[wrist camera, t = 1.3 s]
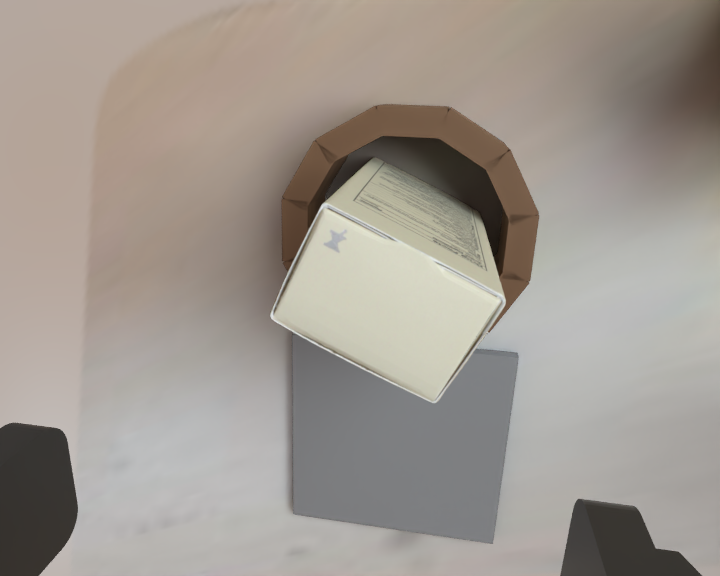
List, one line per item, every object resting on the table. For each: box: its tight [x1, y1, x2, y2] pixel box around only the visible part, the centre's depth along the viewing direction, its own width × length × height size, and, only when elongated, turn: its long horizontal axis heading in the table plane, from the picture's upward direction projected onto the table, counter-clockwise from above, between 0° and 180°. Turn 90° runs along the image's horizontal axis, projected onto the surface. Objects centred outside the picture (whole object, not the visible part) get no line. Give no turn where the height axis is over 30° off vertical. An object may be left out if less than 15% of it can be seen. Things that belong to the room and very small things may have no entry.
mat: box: [292, 333, 518, 544], centre depth 32 cm, size 12×12×1 cm
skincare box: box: [270, 157, 506, 403], centre depth 23 cm, size 6×4×12 cm
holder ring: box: [282, 104, 539, 332], centre depth 27 cm, size 11×11×4 cm
